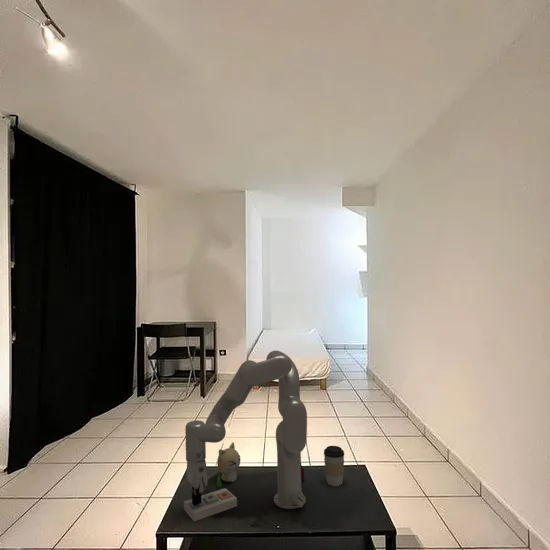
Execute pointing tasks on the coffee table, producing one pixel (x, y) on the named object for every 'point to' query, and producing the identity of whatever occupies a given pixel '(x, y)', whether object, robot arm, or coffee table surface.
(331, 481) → the coffee cup
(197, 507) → the slate blue key
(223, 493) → the terracotta key
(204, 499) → the sage key
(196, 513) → the keypad
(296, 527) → the coffee table surface
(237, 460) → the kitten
